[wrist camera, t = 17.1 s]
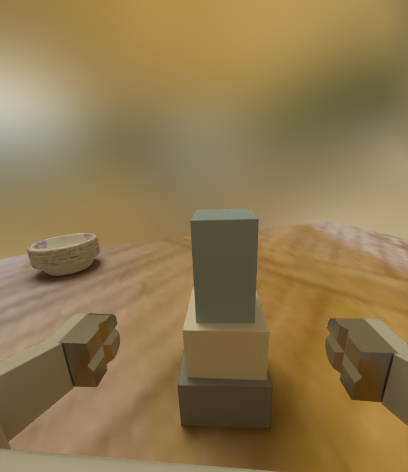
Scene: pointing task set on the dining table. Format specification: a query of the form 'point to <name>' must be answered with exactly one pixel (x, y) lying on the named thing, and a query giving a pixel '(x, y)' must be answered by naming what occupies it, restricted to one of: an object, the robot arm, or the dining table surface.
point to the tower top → (226, 347)
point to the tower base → (224, 401)
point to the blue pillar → (224, 265)
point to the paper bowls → (64, 253)
